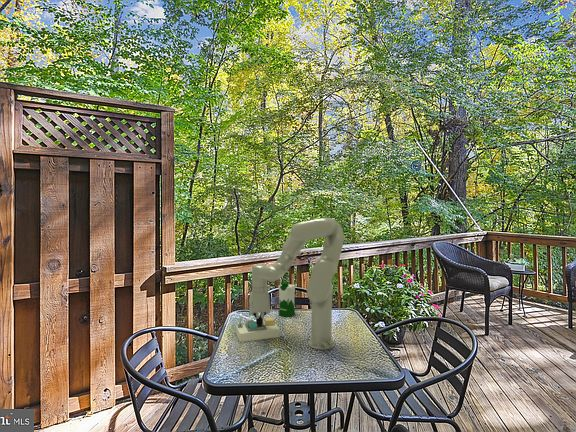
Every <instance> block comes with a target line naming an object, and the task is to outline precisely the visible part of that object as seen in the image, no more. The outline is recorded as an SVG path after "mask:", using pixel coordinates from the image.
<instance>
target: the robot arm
mask: <svg viewBox="0 0 576 432" xmlns="http://www.w3.org/2000/svg"><path fill="white" fill-rule="evenodd" d="M289 232H290V234H289V236H288V237H287V238H286V240H285V241H284V243H283V244H282V246H281V249H282V251H281V253H280V255H279V257H278V258H277V259H276V261H275V263H274V264H271V265H268V266H267V265H266V264H263V263H258V264H254V265H252V267H251V291H250V292H249V299H248V300H249V301H248V310H249V311H248V315H249V316H253V317H255V322H256V323H257V325H258V327H260V326H262V324H263V321H264V317H265V316H266V315H268V314H271V301H270V294H269V291H268V290H270V289H271V288H270V287H271V286H268V282H271V283H272V282H276V281H278V280H280V279H281V278H283V277H284V275H286V274H287V271H288V270H289V269H290V268H291V266H292V265H293V263H294V262H295V260H296V259H297V256H298V255H299V254H300V252H301V250H302V249H303V247H304V246H305V245H306V244H307V242H309V241H310V240H316V239H322V238H325V241H324V244H323V246H322V251H321V254H320V258H319V259H317V260H316V262H315V263H314V265H313V267H312V269H311V270H312V271H311V274H310V277H309V280H308V281H309V282H308V285H307V287H306V295H307V297H308V300H310V301H311V314H310V315H311V319H310V320H311V325H310V326H311V328H310V329H311V332H310V333H311V338H310V339H308V341H307V344H308V346H309V347H310V348H312V349H315V350H319V351H320V350H321V351H326V350H331V349H333V348H334V347H335V346H336V341H334V339H333V338H332V336H333V335H332V334H333V332H332V330H333V329H332V327H333V325H332V324H333V323H332V322H333V321H332V317H333V316H332V315H333V314H332V312H333V308H332V307H333V303H332V302H333V290H334V289H333V288H334V287H333V283H332V282H333V278H334V275H335V274H336V273H337V270H338V266H339V262H340V259H341V255H342V249H343V246H344V242H345V235H344V229H343V227H342V226H341V225H340V223H339V222H338V221H337V220H335V219H334V218H332V217H321V218H316V219H313V220H307V221H301V222H296V223H294V224H293V225H292V226H291V228H290V231H289Z"/></svg>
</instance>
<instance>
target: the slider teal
mask: <svg viewBox="0 0 576 432" xmlns="http://www.w3.org/2000/svg"><path fill="white" fill-rule="evenodd" d="M249 329H257V323H256V320H253V322H249Z"/></svg>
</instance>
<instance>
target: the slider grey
mask: <svg viewBox="0 0 576 432" xmlns="http://www.w3.org/2000/svg"><path fill="white" fill-rule="evenodd" d="M249 322H254V319H253V318H246V319H245V323H246V325H247V326H249Z"/></svg>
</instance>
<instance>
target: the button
mask: <svg viewBox="0 0 576 432" xmlns="http://www.w3.org/2000/svg"><path fill="white" fill-rule="evenodd" d="M263 321H264V324H265V325H266V326H272V325H275V324H276V321H275V318H274V317H265V318H263Z"/></svg>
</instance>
